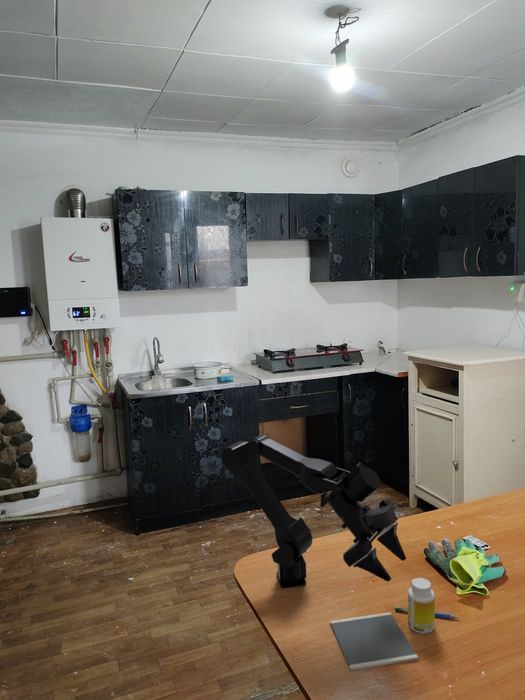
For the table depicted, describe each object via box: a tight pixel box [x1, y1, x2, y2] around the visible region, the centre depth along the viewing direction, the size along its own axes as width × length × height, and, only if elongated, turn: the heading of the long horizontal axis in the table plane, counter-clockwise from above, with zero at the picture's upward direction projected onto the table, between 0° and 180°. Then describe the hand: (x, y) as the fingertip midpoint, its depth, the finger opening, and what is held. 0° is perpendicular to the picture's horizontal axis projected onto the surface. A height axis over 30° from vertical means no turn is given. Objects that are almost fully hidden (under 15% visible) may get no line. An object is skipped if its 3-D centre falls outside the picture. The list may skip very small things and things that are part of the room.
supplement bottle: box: [407, 577, 436, 634], centre depth 113 cm, size 6×6×10 cm
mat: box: [329, 611, 419, 672], centre depth 110 cm, size 14×14×1 cm
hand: (397, 569), depth 115 cm, fingers open, 9 cm apart
